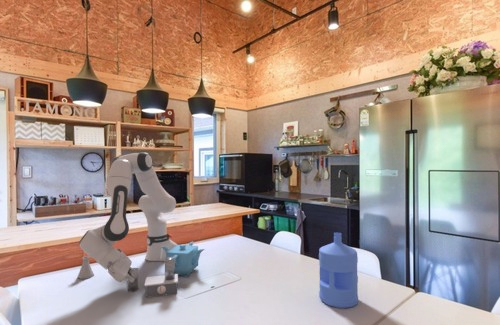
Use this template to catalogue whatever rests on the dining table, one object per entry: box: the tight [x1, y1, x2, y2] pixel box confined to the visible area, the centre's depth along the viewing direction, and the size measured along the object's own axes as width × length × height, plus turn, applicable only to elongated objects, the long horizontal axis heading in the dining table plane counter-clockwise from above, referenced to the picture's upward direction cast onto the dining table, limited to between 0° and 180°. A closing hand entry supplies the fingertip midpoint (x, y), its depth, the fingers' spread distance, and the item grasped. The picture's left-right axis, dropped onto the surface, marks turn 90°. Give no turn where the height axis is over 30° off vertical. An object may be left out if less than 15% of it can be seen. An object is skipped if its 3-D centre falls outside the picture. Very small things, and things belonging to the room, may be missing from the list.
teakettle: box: [161, 241, 206, 278], centre depth 151 cm, size 19×19×15 cm
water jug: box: [318, 232, 359, 309], centre depth 120 cm, size 16×16×28 cm
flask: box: [77, 255, 95, 280], centre depth 146 cm, size 7×7×10 cm
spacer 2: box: [164, 257, 175, 280], centre depth 129 cm, size 4×4×9 cm
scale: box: [144, 274, 179, 298], centre depth 128 cm, size 14×9×6 cm, turn 105°
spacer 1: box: [127, 267, 139, 292], centre depth 131 cm, size 4×4×9 cm
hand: (134, 278), depth 131 cm, fingers closed on spacer 1, 4 cm apart
